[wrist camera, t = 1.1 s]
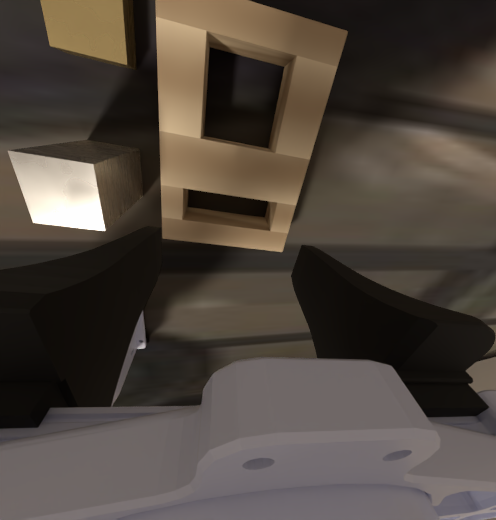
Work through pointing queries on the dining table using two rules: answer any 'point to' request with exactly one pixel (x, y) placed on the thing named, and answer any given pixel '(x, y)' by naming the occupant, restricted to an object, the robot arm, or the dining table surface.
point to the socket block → (228, 152)
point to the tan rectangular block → (92, 29)
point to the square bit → (78, 182)
